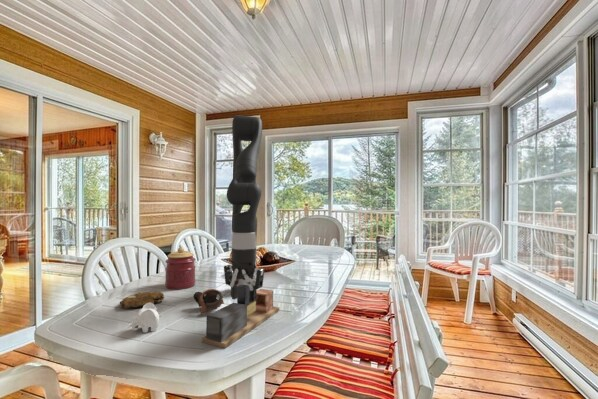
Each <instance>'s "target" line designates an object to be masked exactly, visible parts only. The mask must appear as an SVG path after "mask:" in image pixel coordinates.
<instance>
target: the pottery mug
mask: <svg viewBox="0 0 598 399" xmlns="http://www.w3.org/2000/svg"><path fill="white" fill-rule="evenodd" d="M218 296H219V297H218ZM217 297H218V298H217ZM192 298H193V300H194V301H195V302H196V303H197V304H198V306H199V308H200V313H201V314H202V315H205V314H206V313H209V312H212V311H215V310H218V308H220V307H221V305H223V304H225V302H224V300H223V299H224V296H223V295H222V292H221V291H220V290H218V289H214V288H210V289H209V288H207V289H206V290H204V291H203V292H201V291H196V292H194V294H193V297H192Z"/></svg>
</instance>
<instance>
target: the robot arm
mask: <svg viewBox="0 0 598 399" xmlns="http://www.w3.org/2000/svg"><path fill="white" fill-rule="evenodd" d="M231 126H232V127H231V131H232V132H231V134H232V135H231V136H232V154H233V160H232V161H233V162H232V163H233V164H232V179H231V181H230V183H229V185H228V187H227V190H226V200H227V201H228V202H229V204H230V205H232V214H231V215H232V217H231V232H232V236H231V262H232V264H227V265H224V266H223V272H224V283H225V285H226V286H229V287H230V297H231V299H232V300H237V286H239V285H242V284H243V285H249V288H250V291H249V302H251V303H252V302H254V301H255V300H256V296H257V291H258V290H260V289H262V287H263V285H264V284H263V283H264V278H265V277H264V276H265V268H263V267H262V268H259V267H257V231H258V217H257V211H258V208H259V204H260V202H261V198H262V188H261V186H260V185H259V184H258V183H256V181H257V180H256V179H257V171H258V170H257V166H258V163H257V162H258V156H259V153H260V152H259V151H260V148H261V143H262V142H261V141H262V136H263V121H262V119H261V118H260V117H258V116H249V115H237V114H236V115H234V117H233V119H232V125H231ZM242 142H249V144H248V145H247V146H246V147H245V148H243V145H242ZM244 206H249V208H248V209H247V210H246V211H242V210H243V207H244Z"/></svg>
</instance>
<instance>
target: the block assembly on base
mask: <svg viewBox="0 0 598 399" xmlns="http://www.w3.org/2000/svg"><path fill="white" fill-rule="evenodd" d="M255 301H256V311H254V312H253V313H251V314H249V315H248V316H247V305H245V304H239V303H237V302H231V303H229V304H228V305H225V306H224V307H222V308H220V309H216V311H215V310H214V312H211V313H209V314H207V315H206V325H205V326H206V334H205V336H203V337H202V338H201V343H204V344H208V345H212V346H215V347H219V348H223V349H227V348H228V347H230V346H231V345H232V344H234V343H236V342H237V341H238V340H239V339H241V338H242V337H244V336H245V335H247V334H248V333H250V332H252V330H254V329H255V328H257V327H258V326H260V325H261V324H263V323H264V322H265V321H267V320H269V319H270V318H271V317H273V316H274V315H276V314H277V313H279V312H280V306H274V291H273V290H269V289H265V288H264V289H263V288H259V289H257V296H256V300H255ZM278 311H279V312H278Z"/></svg>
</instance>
